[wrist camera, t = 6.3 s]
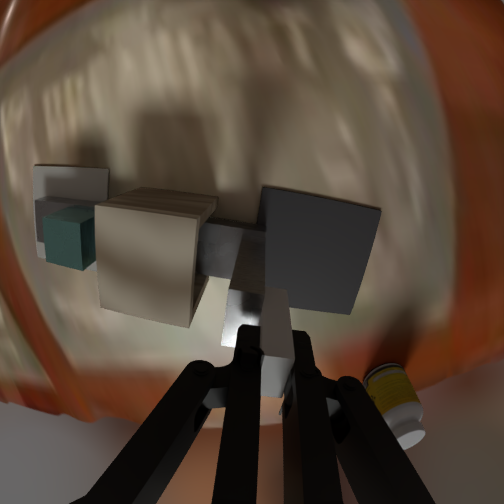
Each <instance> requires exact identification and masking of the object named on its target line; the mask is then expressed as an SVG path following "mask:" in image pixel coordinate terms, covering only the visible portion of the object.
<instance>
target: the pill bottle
mask: <svg viewBox="0 0 504 504" xmlns="http://www.w3.org/2000/svg"><path fill="white" fill-rule="evenodd" d="M363 386H364V388H365V389H366V391H367V393H368V394H369V396H370V397H371V399H372V401H373V402H374V404H375V405H376V407H377V408H378V410H379V412H380V413H381V415H382V416H383V418H384V420H385V421H386V423H387V424H388V426H389V428H390V429H391V431H392V432H393V434H394V436H395V437H396V439H397V440H398V442H399V444H400V445H401V447H402V449H403V450H405V449H407V448H409V447H412V446H414V445H415V444H417V443H418V442H419V441H420V440H421V439H422V438H423V437H424V436H425V430H424V427H423V425H422V423H421V422H420V420H421V419H422V416H423V407H422V405H421V403H420V401H419V399H418V397H417V394H416V392H415V390H414V388H413V386H412V384H411V382H410V380H409V378H408V376H407V374H406V372H405V370H404V368H403V367H402V366H401V365H399V364H395V363H388V364H384V365H381V366H379V367H377V368H375V369H374V370H372V371H371V372H370V373H369V374H368V375H367V377H366V378H365V380H364V382H363Z"/></svg>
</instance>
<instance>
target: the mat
mask: <svg viewBox="0 0 504 504" xmlns="http://www.w3.org/2000/svg"><path fill="white" fill-rule="evenodd" d="M108 181H109V169H103V168H85V167H60V166H33V208H34V225H35V237H36V246H37V255H38V257H40V258H44V259H46V255H45V246H44V243H42V242H37V233H36V220H35V200H36V199H39V198H42V197H45V196H51V197H61V198H70V199H79V200H88V201H96V202H104V201H106V200H108ZM86 269H88V270H92V271H96V272H97V264H96V261H95V262H94V263H92V264H91V265H90V266H89V267H87V268H86Z"/></svg>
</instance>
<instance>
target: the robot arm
mask: <svg viewBox="0 0 504 504" xmlns="http://www.w3.org/2000/svg"><path fill="white" fill-rule="evenodd" d="M283 393H284V401H283V403H282V406H281V409H280V411H279V415H281V413H282V422H283V464H284V466H283V467H284V504H343V500H342V492H341V485H340V478H339V472H338V464H337V458H336V455H337V457H338V460H339V462H340V464H341V466H342V469H343V471H344V473H345V475H346V477H347V479H348V482H349V484H350V486H351V488H352V490H353V493H354V495H355V497H356V499H357V501H358V503H359V504H435V502H434V500H433V498H432V497H431V495H430V493H429V492H428V490H427V488H426V487H425V485H424V483H423V482H422V480H421V478H420V477H419V475H418V473H417V472H416V470H415V468H414V467H413V465H412V463H411V462H410V460H409V458H408V457H407V455H406V453H405V452H404V450H403V449H402V447H401V445H400V444H399V442H398V440H397V439H396V437H395V436H394V434H393V432H392V431H391V429H390V428H389V426H388V424H387V423H386V421H385V420H384V418H383V416H382V415H381V413H380V412H379V410H378V408H377V407H376V405H375V404H374V402H373V401H372V399H371V397H370V396H369V394H368V393H367V391H366V389H365V388H364V386H363V385H362V383H361V382H360V381H359V380H358V379H356V378H354V377H351V376H343V377H340V378H339V379H338V381H335V380H332V379H328V378H326V377H324V376H322V374H321V372H320V370H319V369H318V368H317V367H316V366H315V361H314V355H313V350H312V345H311V340H310V337H309V335H308V334H307V333H306V332H305V331H298V330H292V327H291V319H290V311H289V303H288V295H287V290H286V289H279V288H273V287H266V286H265V297H264V302H263V307H262V312H261V317H260V322H259V326H256V325H249V324H242V325H241V326H240V327H239V328H238V332H237V338H236V344H235V351H234V357H233V361H232V362H231V363H230V364H228V365H226V366H223V367H214V366H213V365H212V364H211V363H209V362H207V361H203V360H195V361H192V362H190V363H189V364H188V365H187V366H186V367H185V369H184V370H183V371H182V373H181V374H180V375H179V377H178V378H177V379H176V381H175V382H174V383H173V384H172V386H171V387H170V388H169V390H168V391H167V392H166V394H165V395H164V396H163V398H162V399H161V400H160V401H159V403H158V404H157V405H156V407H155V408H154V409H153V411H152V412H151V413H150V414H149V416H148V417H147V418H146V420H145V421H144V422H143V424H142V425H141V426H140V427H139V429H138V430H137V432H136V433H135V434H134V435H133V436H132V438H131V439H130V440H129V442H128V443H127V444H126V445H125V447H124V448H123V449H122V450H121V452H120V453H119V454H118V456H117V457H116V458H115V459H114V461H113V462H112V463H111V464H110V466H109V467H108V468H107V469H106V471H105V472H104V473H103V474H102V476H101V477H100V478H99V479H98V481H97V482H96V483H95V485H94V486H93V487H92V488H91V490H90V491H89V492H88V493H87V494H86V495H85V496H83V497H82V498H80V499H77V500H75V501H73V502H71V503H69V504H156V503H157V501H158V500H159V498H160V496H161V495H162V493H163V492H164V490H165V488H166V487H167V485H168V483H169V482H170V480H171V479H172V477H173V475H174V474H175V472H176V470H177V468H178V467H179V465H180V464H181V462H182V460H183V459H184V457H185V455H186V454H187V452H188V450H189V448H190V447H191V445H192V443H193V441H194V440H195V438H196V436H197V435H198V433H199V431H200V429H201V428H202V426H203V424H204V422H205V421H206V419H207V417H208V415H209V414H210V412H211V410H212V408H222V407H226V409H225V416H224V422H223V429H222V436H221V443H220V449H219V456H218V463H217V469H216V476H215V483H214V490H213V497H212V503H211V504H256V496H257V475H258V452H259V427H260V400H261V396H268V397H278V398H282V396H283Z"/></svg>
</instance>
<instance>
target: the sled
mask: <svg viewBox="0 0 504 504" xmlns="http://www.w3.org/2000/svg"><path fill="white" fill-rule="evenodd" d="M99 203H101V202H96V201H88V200H79V199H70V198H61V197H51V196H45V197H42V198H39V199H36V200H35V220H36V233H37V242H42V243H44V246H45V255H46V262H50V263H54V264H57V265H61V266H65V267H69V268H73V269H77V270H81V271H83V270H85V269H86V268H87V267H89V266H90V265H91V264H92V263H94V262H95V261H96V246H95V205H96V204H99ZM266 233H267V226H265V225H258V224H252V223H246V222H240V221H234V220H227V219H221V218H214V217H209V218H208V219H207V220H206V221H205V223H204V224H203V225H202V226H201V228H200V229H199V234H198V244H197V255H196V267H195V273H197V274H202V275H208V276H214V277H220V278H226V279H231V281H230V285H229V289H228V297H227V304H226V312H225V320H224V327H223V335H222V343H221V345H223V346H229V347H235V344H236V338H237V332H238V328H239V327H240V326H241V325H242V324H249V325H256V326H259V322H260V317H261V312H262V307H263V302H264V297H265V250H266Z"/></svg>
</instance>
